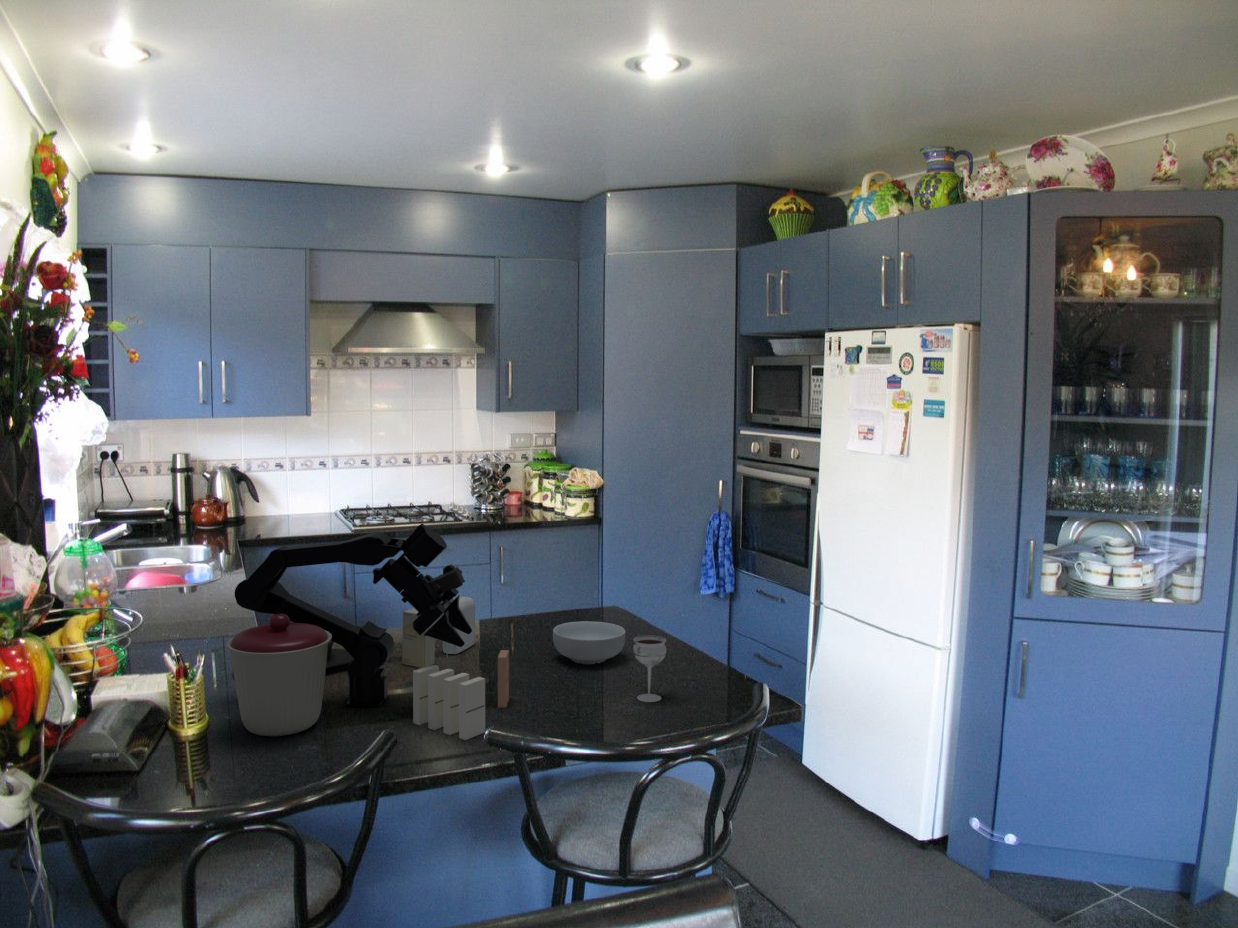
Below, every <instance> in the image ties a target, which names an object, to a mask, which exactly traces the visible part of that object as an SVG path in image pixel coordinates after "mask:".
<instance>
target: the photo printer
mask: <svg viewBox="0 0 1238 928" xmlns="http://www.w3.org/2000/svg"><path fill="white" fill-rule="evenodd" d="M475 604H476V603H475V601H474V600H473V598H471V597H469V596H460V598H459V608H460V610H461V612H462V614H463V615H464V617H465V619H466V620H467V622H468V624H469V625H470V627H471V629H472V632H471V633H470V634H466V633H464V632H462V631H460V630H458V629H456V628H454V627H453V628H454V629H455V630H456V631H457V633H458V634H459V635H460V637H461V638H462V640H463V641H464V642H465V644H464V645H463V646H462V647H458V646H456V645H453V644H450V643H447V642H445V641H442V652H443V653H444V654H445V653H446V654H445V655H448V654H455V655H456V654H457V655H458V654H459V653H462V652H463V651H465V650H467V649H469V648H470V647H472V646H474V645H475V644H476V605H475Z"/></svg>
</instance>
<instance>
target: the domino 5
mask: <svg viewBox="0 0 1238 928" xmlns="http://www.w3.org/2000/svg"><path fill="white" fill-rule="evenodd" d="M509 700H510V650H509V649H501V650H500V652H499V653H498V656H497V708H507V706H508V704H509Z"/></svg>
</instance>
